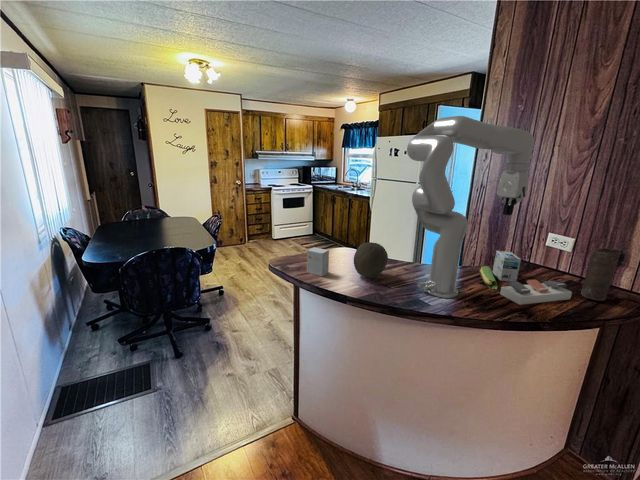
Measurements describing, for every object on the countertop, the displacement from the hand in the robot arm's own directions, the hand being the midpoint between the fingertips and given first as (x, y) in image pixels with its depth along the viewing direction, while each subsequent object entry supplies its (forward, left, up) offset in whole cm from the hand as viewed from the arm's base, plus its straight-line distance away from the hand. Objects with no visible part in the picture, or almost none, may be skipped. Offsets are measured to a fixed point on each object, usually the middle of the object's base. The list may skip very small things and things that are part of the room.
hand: (507, 214), depth 125 cm
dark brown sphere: (-52, +14, -29) cm, 61 cm away
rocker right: (+12, -16, -25) cm, 32 cm away
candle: (+25, -22, -29) cm, 44 cm away
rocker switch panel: (+4, -16, -29) cm, 33 cm away
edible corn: (-4, 0, -30) cm, 30 cm away
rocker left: (-4, -16, -25) cm, 30 cm away
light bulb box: (+8, +3, -29) cm, 31 cm away
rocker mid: (+4, -16, -25) cm, 30 cm away
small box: (-73, +22, -29) cm, 82 cm away
